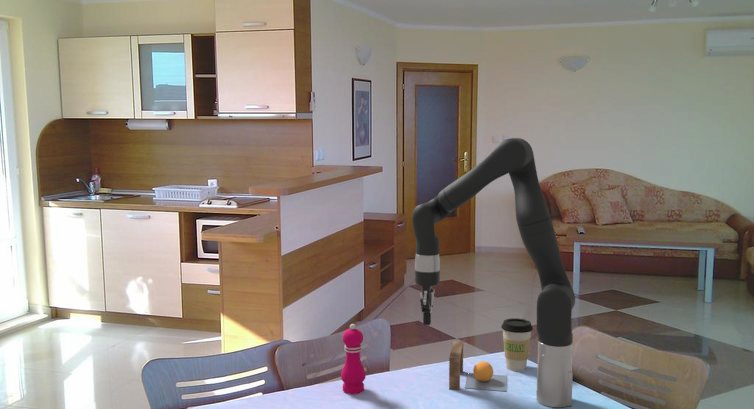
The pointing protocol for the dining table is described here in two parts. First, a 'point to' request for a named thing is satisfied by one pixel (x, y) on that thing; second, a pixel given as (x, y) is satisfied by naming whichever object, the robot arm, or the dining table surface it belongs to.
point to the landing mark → (486, 383)
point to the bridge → (455, 365)
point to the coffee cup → (516, 342)
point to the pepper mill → (353, 362)
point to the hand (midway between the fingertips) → (427, 324)
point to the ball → (483, 371)
